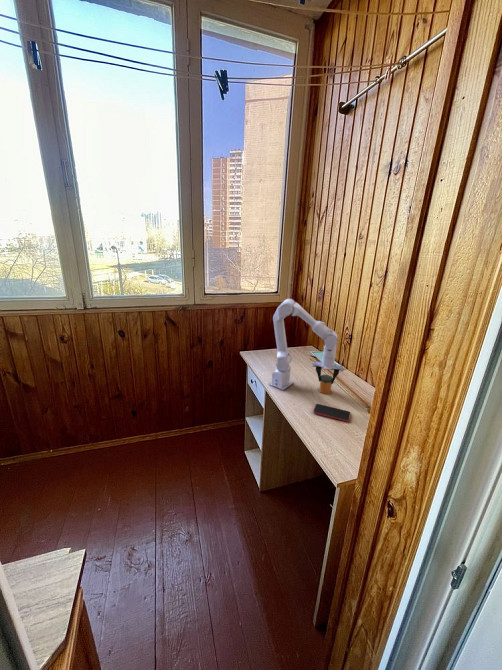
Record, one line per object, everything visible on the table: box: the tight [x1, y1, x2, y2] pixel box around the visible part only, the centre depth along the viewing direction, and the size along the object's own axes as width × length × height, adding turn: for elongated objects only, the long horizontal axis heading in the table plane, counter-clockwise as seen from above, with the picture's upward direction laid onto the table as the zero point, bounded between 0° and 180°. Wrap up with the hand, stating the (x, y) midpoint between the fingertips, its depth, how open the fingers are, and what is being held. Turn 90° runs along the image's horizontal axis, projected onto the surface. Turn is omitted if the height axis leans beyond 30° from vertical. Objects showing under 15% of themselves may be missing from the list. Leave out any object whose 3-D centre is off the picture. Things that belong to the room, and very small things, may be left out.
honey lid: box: [320, 374, 333, 383], centre depth 144 cm, size 6×6×1 cm
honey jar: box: [318, 380, 333, 395], centre depth 145 cm, size 6×6×7 cm
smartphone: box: [312, 403, 351, 422], centre depth 128 cm, size 7×1×15 cm
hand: (325, 381), depth 144 cm, fingers closed on honey lid, 6 cm apart
